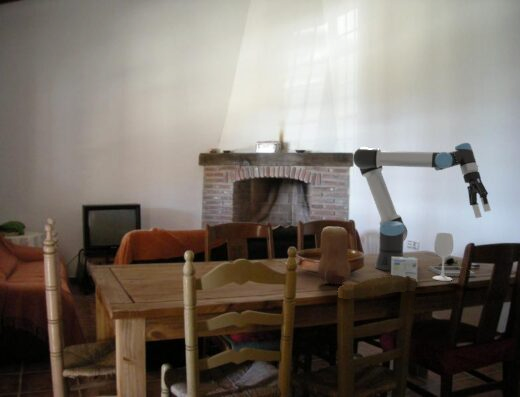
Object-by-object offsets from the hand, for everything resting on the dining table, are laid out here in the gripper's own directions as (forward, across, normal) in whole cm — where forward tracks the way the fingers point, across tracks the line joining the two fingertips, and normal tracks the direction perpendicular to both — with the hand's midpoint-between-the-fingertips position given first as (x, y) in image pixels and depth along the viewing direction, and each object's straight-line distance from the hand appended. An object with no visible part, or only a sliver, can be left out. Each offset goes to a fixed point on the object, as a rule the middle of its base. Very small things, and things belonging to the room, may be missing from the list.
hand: (483, 214), depth 237 cm
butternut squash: (+23, -27, +78) cm, 86 cm away
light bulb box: (+26, -16, +47) cm, 56 cm away
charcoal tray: (+24, +8, +20) cm, 32 cm away
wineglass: (+27, -7, +28) cm, 40 cm away
